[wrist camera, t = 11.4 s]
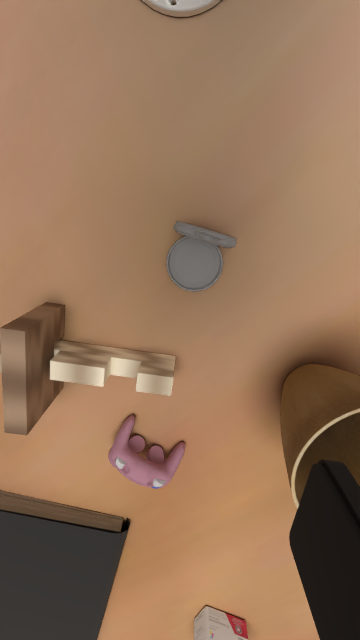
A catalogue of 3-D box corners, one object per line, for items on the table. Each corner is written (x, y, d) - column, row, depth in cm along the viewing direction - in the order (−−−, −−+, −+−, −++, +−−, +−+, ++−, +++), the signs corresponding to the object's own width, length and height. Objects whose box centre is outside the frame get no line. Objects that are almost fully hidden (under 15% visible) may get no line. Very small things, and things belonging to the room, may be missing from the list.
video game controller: (119, 422, 46) (98, 468, 41) (130, 410, 43) (108, 458, 38) (175, 452, 47) (161, 500, 42) (189, 442, 44) (176, 493, 39)
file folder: (-34, 505, 45) (127, 538, 46) (-17, 482, 49) (131, 513, 50) (-43, 642, 55) (90, 665, 56) (-28, 614, 58) (96, 636, 60)
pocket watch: (176, 296, 38) (173, 320, 29) (154, 229, 36) (143, 231, 26) (240, 276, 37) (258, 294, 28) (222, 206, 35) (235, 200, 25)
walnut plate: (45, 302, 39) (-1, 328, 29) (64, 304, 39) (24, 331, 29) (45, 385, 42) (4, 432, 33) (63, 387, 42) (27, 435, 33)
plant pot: (388, 385, 41) (506, 480, 26) (302, 450, 45) (362, 568, 29) (317, 311, 38) (402, 370, 23) (231, 387, 42) (256, 481, 27)
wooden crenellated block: (10, 349, 41) (-19, 370, 35) (9, 333, 40) (-20, 351, 34) (173, 372, 41) (170, 395, 36) (175, 355, 41) (173, 377, 35)
